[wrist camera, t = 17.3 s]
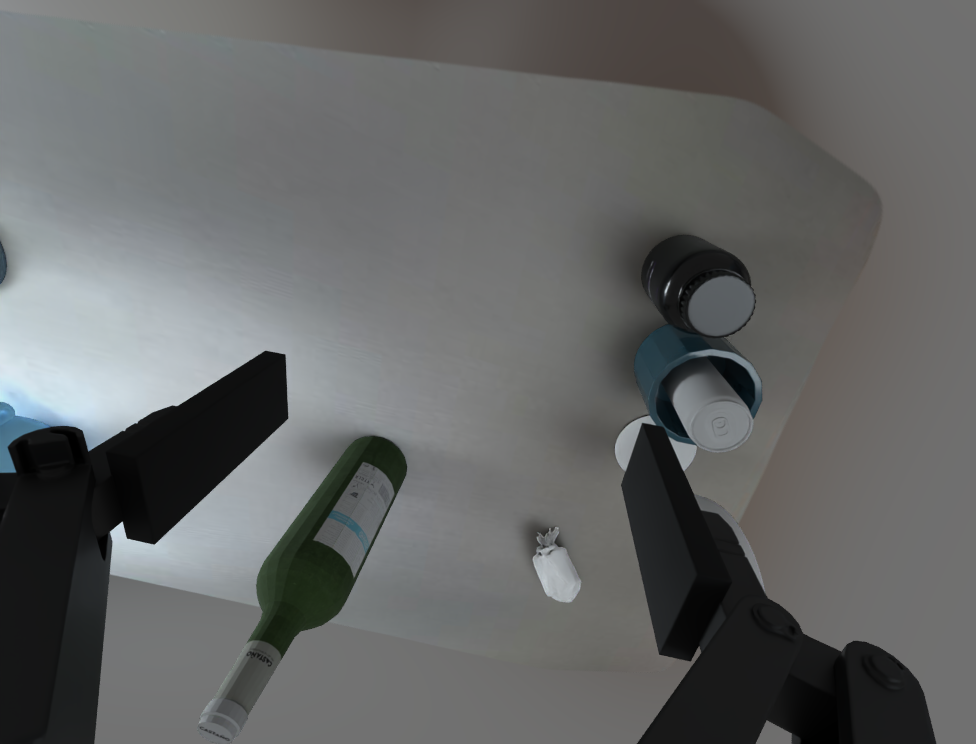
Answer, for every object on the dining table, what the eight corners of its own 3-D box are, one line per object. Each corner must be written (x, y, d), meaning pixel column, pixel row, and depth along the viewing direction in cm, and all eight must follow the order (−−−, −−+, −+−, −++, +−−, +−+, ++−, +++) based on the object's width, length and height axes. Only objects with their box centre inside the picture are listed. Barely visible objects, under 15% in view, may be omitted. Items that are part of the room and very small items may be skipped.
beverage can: (699, 337, 44) (748, 391, 33) (711, 379, 46) (761, 444, 35) (650, 353, 46) (681, 410, 35) (663, 394, 47) (696, 461, 36)
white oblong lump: (521, 531, 60) (551, 597, 60) (522, 558, 53) (555, 632, 54) (556, 517, 59) (585, 584, 60) (561, 542, 52) (595, 618, 53)
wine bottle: (335, 463, 57) (140, 728, 30) (366, 422, 54) (180, 676, 27) (387, 498, 58) (244, 782, 31) (420, 460, 55) (294, 738, 28)
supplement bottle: (624, 269, 43) (649, 301, 32) (687, 217, 41) (737, 234, 30) (667, 320, 45) (705, 369, 34) (731, 274, 42) (793, 310, 31)
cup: (702, 302, 44) (732, 329, 36) (744, 375, 46) (780, 413, 39) (616, 352, 47) (629, 385, 40) (660, 418, 49) (680, 460, 42)
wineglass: (703, 417, 48) (803, 576, 29) (687, 483, 52) (766, 664, 33) (620, 410, 49) (664, 560, 30) (609, 476, 53) (643, 647, 34)
